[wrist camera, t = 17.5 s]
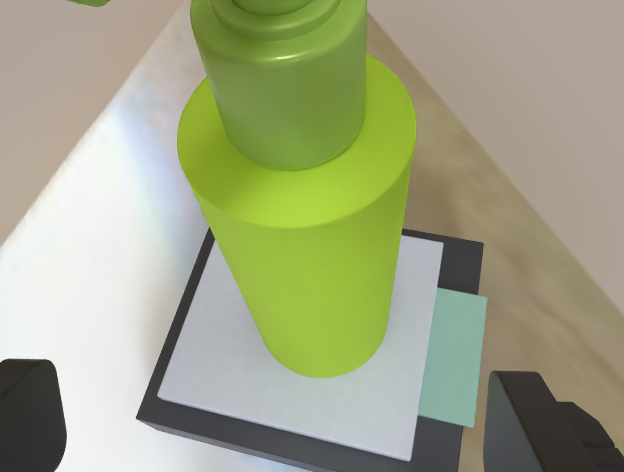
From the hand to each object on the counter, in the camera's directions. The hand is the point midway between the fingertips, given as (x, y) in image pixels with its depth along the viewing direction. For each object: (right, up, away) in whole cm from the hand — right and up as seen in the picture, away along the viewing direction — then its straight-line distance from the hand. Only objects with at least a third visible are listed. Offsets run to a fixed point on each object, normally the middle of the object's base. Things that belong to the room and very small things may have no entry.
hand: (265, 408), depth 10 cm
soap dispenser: (+1, -1, +15) cm, 15 cm away
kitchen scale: (+1, -3, +18) cm, 18 cm away
